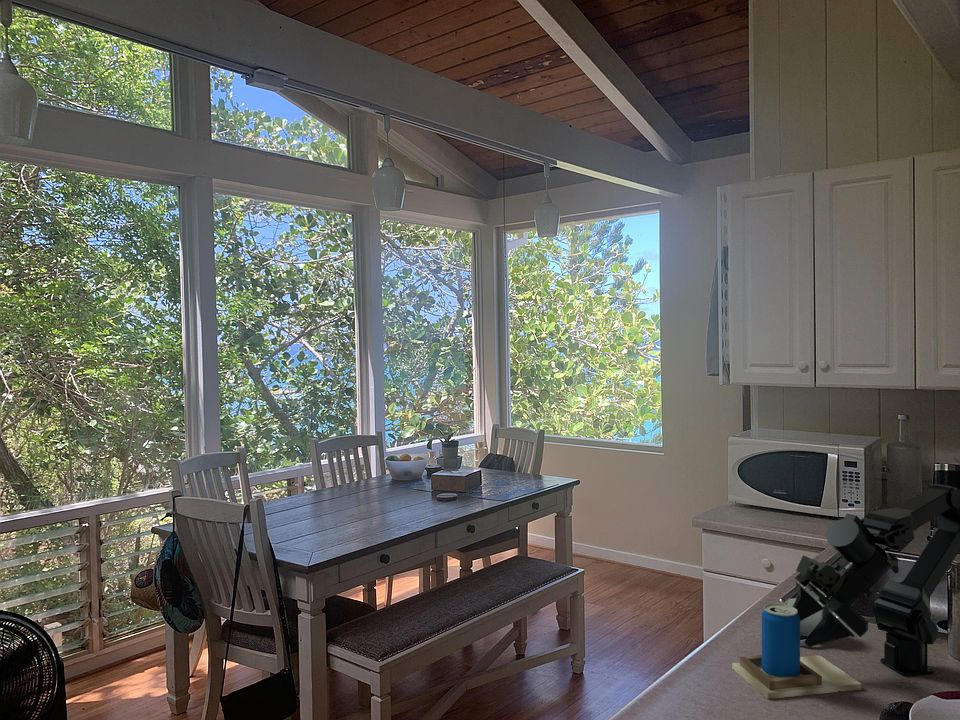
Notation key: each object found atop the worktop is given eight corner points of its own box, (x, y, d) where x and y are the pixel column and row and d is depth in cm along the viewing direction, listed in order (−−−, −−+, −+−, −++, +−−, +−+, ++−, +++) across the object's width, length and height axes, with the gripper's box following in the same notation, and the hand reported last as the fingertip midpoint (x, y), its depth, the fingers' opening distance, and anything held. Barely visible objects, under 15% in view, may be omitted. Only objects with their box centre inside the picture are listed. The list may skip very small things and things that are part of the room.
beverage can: (768, 663, 138) (768, 600, 138) (804, 673, 134) (804, 608, 134) (756, 675, 133) (756, 610, 133) (793, 686, 129) (793, 618, 129)
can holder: (818, 660, 142) (819, 647, 141) (861, 689, 130) (861, 675, 130) (732, 668, 138) (732, 655, 138) (767, 698, 127) (767, 684, 127)
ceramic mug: (789, 625, 159) (789, 590, 159) (830, 633, 154) (830, 597, 154) (777, 643, 150) (777, 606, 150) (820, 652, 146) (820, 614, 145)
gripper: (805, 529, 142) (748, 585, 143) (849, 558, 123) (782, 623, 124) (847, 569, 142) (789, 625, 143) (897, 604, 123) (830, 669, 124)
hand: (796, 634), depth 133 cm, fingers open, 9 cm apart
